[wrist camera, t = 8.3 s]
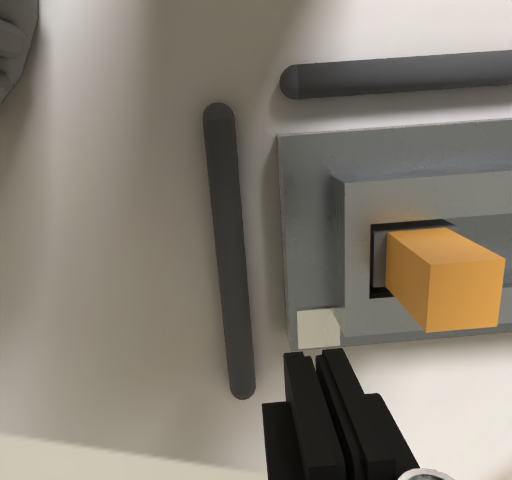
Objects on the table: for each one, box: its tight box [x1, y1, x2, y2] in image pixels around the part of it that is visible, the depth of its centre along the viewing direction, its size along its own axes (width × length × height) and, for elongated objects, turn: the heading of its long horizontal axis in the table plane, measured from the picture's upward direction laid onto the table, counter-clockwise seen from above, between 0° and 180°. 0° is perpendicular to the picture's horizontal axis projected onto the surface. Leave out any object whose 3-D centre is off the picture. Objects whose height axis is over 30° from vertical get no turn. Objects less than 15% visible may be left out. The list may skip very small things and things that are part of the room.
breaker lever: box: [369, 219, 506, 333], centre depth 18 cm, size 3×4×6 cm
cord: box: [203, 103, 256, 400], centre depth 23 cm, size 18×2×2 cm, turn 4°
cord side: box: [280, 50, 512, 99], centre depth 20 cm, size 14×2×2 cm, turn 94°
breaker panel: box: [277, 118, 512, 351], centre depth 21 cm, size 12×20×4 cm, turn 94°
